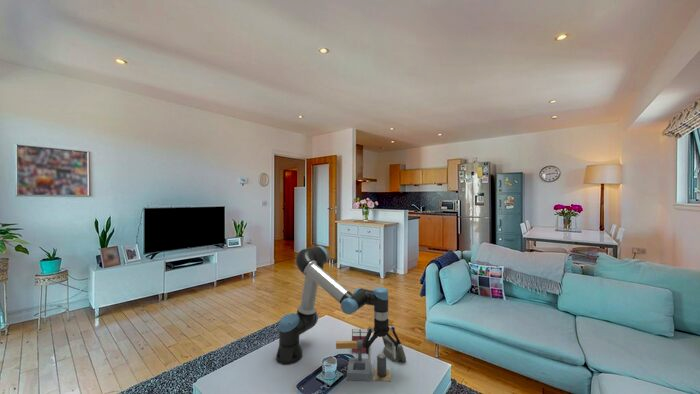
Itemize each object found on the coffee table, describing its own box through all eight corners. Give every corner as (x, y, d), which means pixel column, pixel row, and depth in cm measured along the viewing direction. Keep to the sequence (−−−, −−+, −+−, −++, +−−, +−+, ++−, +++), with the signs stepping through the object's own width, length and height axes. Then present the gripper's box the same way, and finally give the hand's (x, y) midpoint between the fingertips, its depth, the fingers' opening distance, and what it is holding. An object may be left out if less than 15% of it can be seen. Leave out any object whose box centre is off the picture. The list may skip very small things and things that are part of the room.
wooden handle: (336, 346, 153) (336, 340, 153) (362, 345, 153) (362, 339, 153) (335, 349, 149) (335, 343, 150) (363, 348, 150) (363, 342, 150)
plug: (377, 377, 141) (376, 357, 141) (377, 371, 146) (377, 352, 146) (386, 377, 141) (386, 358, 141) (386, 371, 145) (386, 352, 146)
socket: (346, 379, 140) (346, 359, 140) (349, 363, 154) (349, 345, 154) (370, 381, 139) (370, 360, 139) (370, 365, 152) (370, 346, 152)
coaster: (373, 380, 139) (373, 379, 139) (373, 369, 148) (373, 368, 148) (390, 381, 138) (390, 380, 138) (390, 370, 147) (390, 369, 147)
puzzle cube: (368, 353, 164) (368, 336, 164) (352, 353, 165) (351, 336, 165) (367, 344, 174) (367, 328, 174) (352, 344, 175) (352, 328, 175)
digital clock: (407, 362, 154) (407, 343, 155) (393, 366, 151) (393, 347, 151) (392, 348, 169) (392, 331, 170) (379, 351, 166) (379, 334, 166)
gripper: (359, 323, 138) (359, 365, 138) (406, 319, 142) (406, 360, 142) (356, 317, 145) (357, 357, 145) (401, 313, 149) (401, 352, 149)
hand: (381, 358), depth 143 cm, fingers open, 13 cm apart
